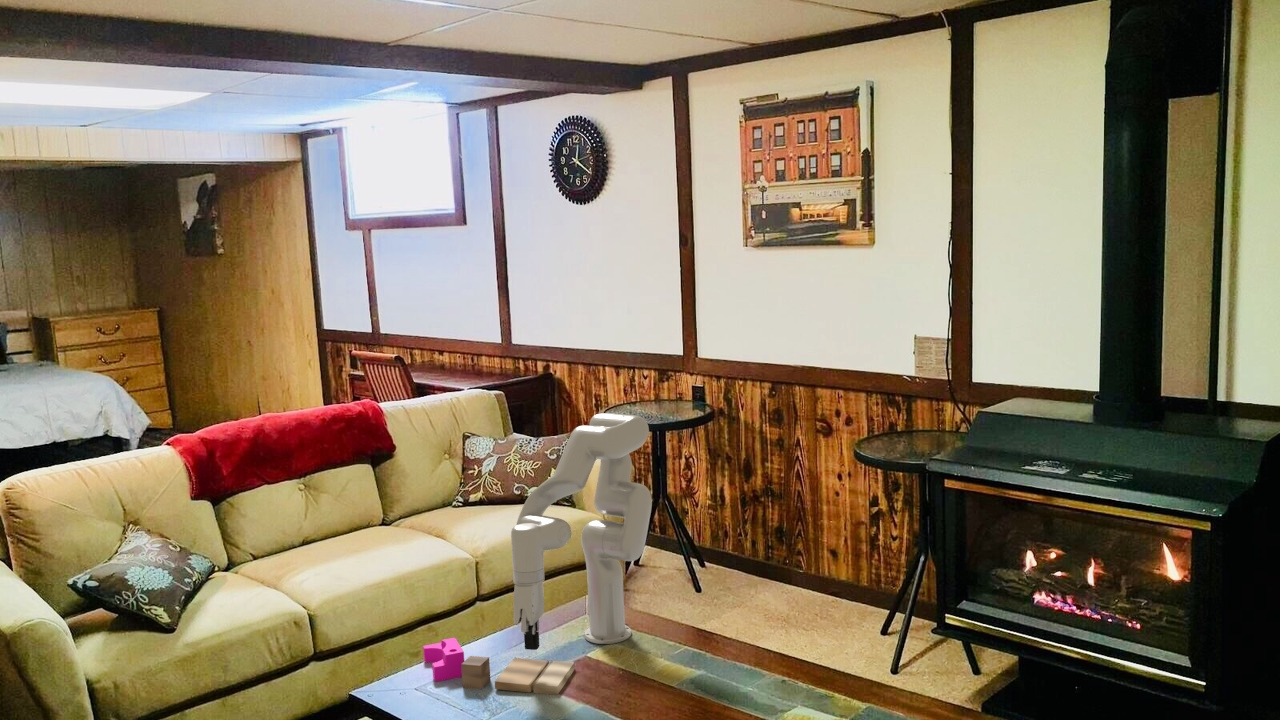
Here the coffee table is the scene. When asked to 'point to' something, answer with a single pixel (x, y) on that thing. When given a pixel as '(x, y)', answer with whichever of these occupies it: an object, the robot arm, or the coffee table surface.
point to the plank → (521, 675)
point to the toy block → (445, 659)
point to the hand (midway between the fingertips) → (532, 648)
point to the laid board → (553, 677)
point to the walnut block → (476, 672)
